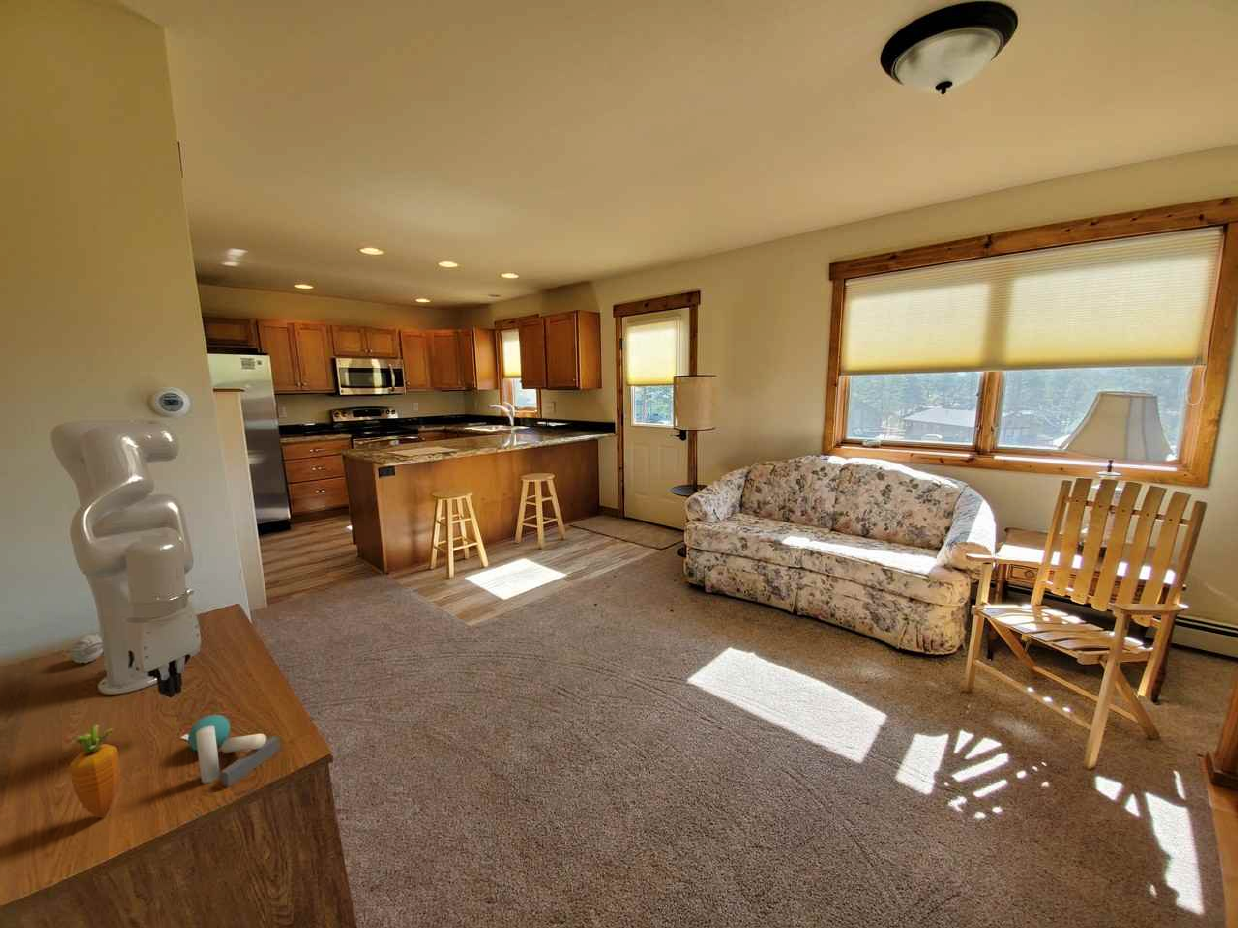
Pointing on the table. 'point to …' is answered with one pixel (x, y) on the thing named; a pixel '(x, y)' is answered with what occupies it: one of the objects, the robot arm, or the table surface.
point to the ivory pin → (243, 743)
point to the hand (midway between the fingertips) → (171, 693)
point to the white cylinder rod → (208, 754)
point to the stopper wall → (249, 761)
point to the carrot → (95, 773)
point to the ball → (219, 725)
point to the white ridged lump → (86, 649)
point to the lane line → (185, 737)
